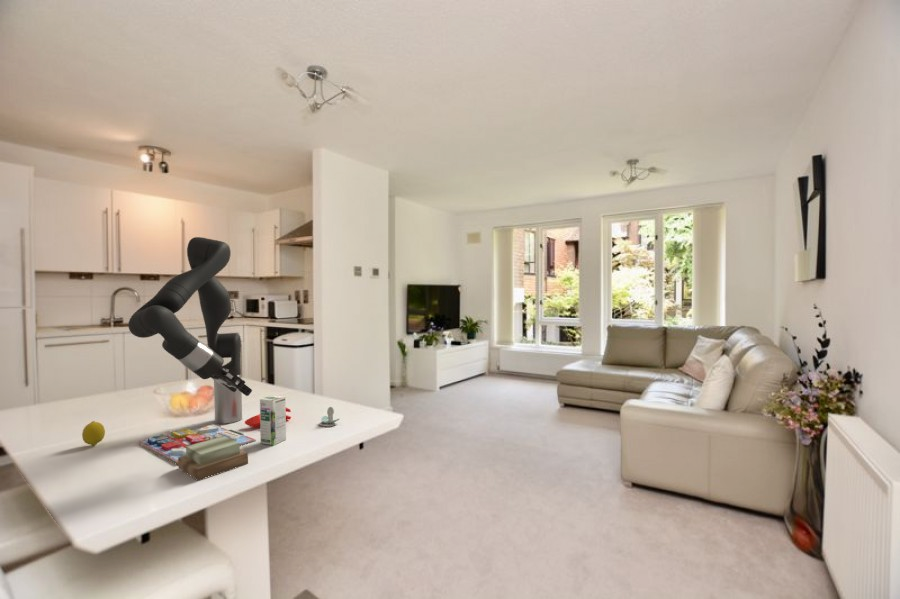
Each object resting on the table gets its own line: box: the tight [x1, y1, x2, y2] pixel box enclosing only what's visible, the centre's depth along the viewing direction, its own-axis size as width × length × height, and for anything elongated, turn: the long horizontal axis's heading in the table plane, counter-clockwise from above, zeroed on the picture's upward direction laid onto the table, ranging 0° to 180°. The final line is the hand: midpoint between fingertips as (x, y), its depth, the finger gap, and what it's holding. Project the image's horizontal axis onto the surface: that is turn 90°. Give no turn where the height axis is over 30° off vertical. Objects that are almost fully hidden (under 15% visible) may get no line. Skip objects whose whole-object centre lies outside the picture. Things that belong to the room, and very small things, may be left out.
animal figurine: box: [244, 407, 292, 429], centre depth 151 cm, size 12×15×5 cm
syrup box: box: [259, 395, 287, 446], centre depth 134 cm, size 6×6×14 cm
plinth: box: [177, 436, 249, 481], centre depth 116 cm, size 13×13×6 cm
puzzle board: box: [138, 423, 257, 466], centre depth 135 cm, size 30×23×3 cm
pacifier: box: [319, 406, 340, 428], centre depth 151 cm, size 7×6×6 cm
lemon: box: [82, 420, 106, 447], centre depth 133 cm, size 6×6×8 cm
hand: (242, 391), depth 126 cm, fingers open, 8 cm apart
